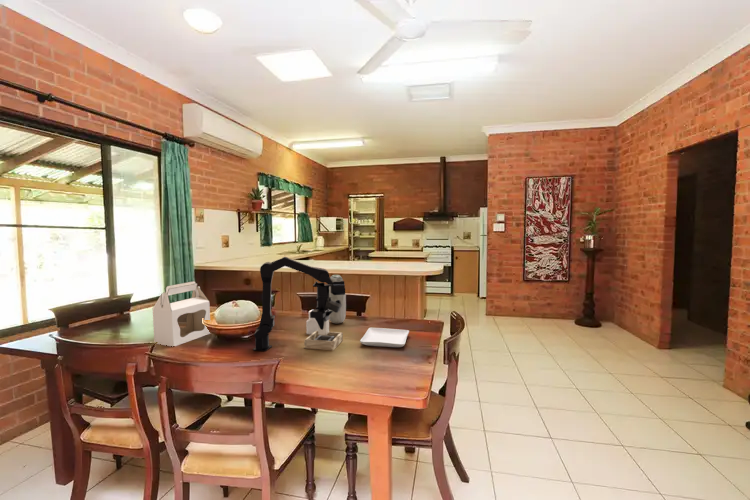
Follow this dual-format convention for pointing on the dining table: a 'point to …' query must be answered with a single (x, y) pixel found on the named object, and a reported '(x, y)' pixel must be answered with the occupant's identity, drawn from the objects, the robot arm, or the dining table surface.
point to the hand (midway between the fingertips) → (323, 328)
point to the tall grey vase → (341, 314)
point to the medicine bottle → (311, 324)
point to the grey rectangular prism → (326, 327)
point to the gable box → (169, 313)
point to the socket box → (323, 340)
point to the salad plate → (385, 337)
